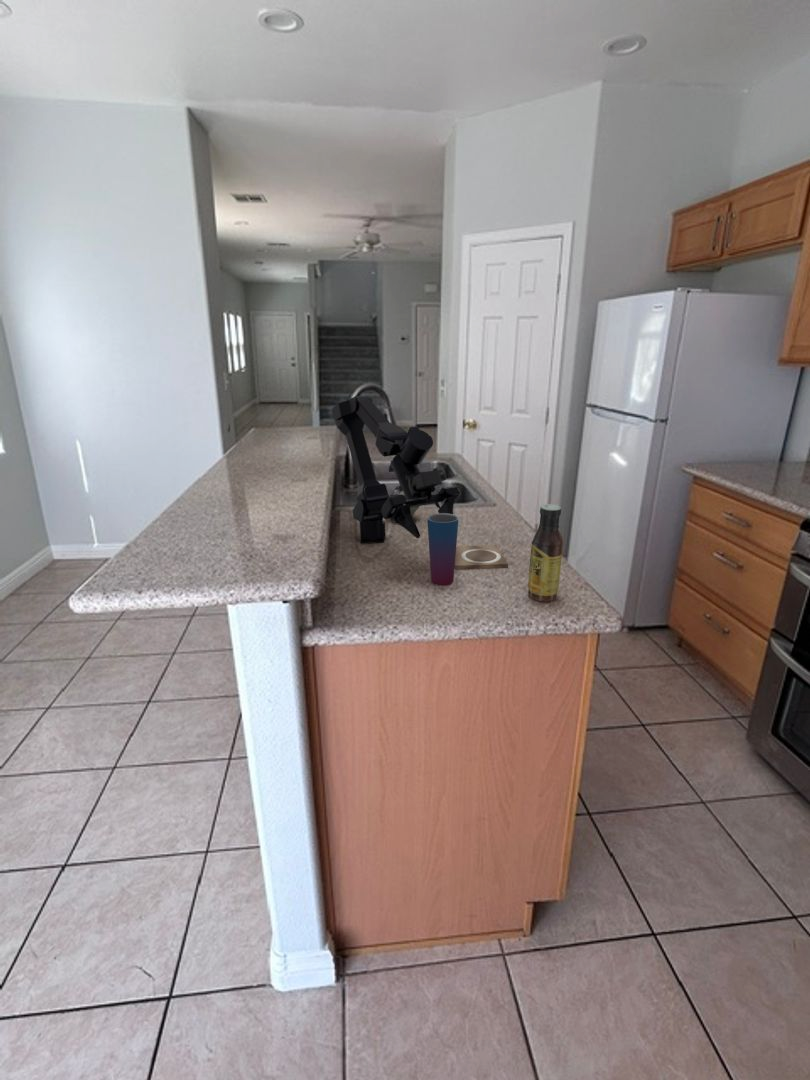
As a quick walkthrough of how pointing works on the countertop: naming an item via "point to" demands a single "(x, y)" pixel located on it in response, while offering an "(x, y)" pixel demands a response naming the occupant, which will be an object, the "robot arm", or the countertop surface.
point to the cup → (442, 547)
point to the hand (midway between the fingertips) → (436, 533)
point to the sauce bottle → (546, 556)
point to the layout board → (479, 557)
